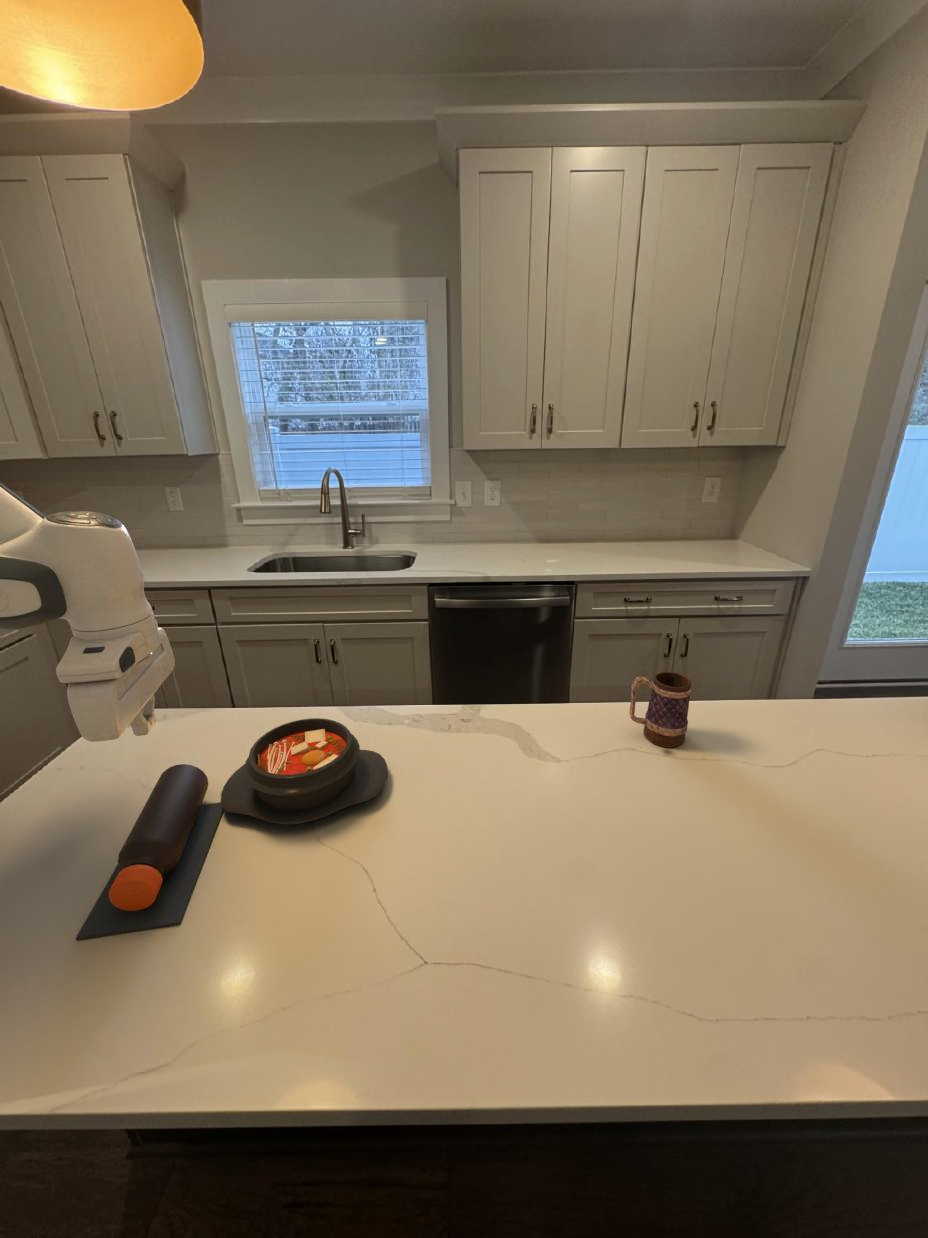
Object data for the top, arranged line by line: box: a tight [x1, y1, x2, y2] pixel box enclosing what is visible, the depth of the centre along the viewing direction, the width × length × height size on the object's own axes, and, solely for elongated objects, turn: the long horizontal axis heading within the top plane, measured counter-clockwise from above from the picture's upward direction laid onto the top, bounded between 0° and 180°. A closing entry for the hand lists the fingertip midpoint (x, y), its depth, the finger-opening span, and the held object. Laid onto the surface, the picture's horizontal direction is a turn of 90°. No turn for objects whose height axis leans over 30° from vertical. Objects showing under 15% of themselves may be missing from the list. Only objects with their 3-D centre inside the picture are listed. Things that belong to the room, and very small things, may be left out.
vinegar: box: [108, 763, 209, 911], centre depth 67 cm, size 7×7×20 cm
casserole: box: [220, 717, 389, 825], centre depth 78 cm, size 25×19×8 cm
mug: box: [628, 671, 692, 748], centre depth 89 cm, size 10×7×12 cm
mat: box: [75, 801, 225, 941], centre depth 67 cm, size 11×20×1 cm, turn 9°
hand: (145, 729), depth 70 cm, fingers closed
